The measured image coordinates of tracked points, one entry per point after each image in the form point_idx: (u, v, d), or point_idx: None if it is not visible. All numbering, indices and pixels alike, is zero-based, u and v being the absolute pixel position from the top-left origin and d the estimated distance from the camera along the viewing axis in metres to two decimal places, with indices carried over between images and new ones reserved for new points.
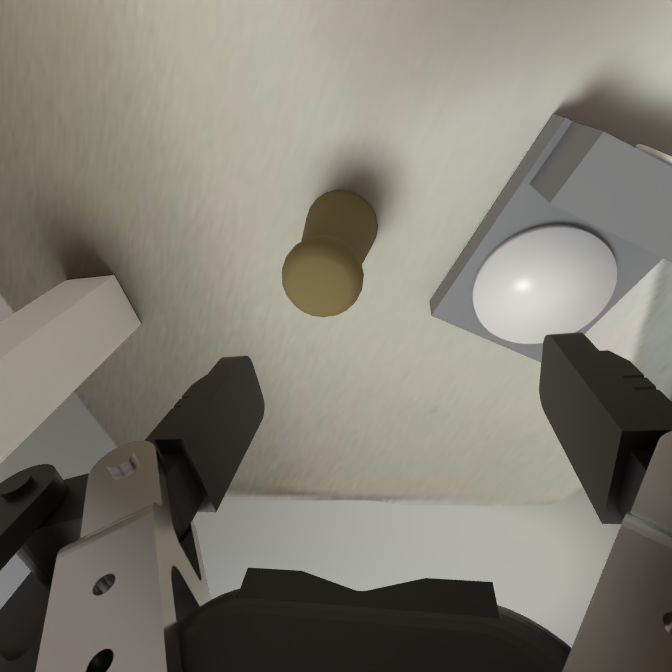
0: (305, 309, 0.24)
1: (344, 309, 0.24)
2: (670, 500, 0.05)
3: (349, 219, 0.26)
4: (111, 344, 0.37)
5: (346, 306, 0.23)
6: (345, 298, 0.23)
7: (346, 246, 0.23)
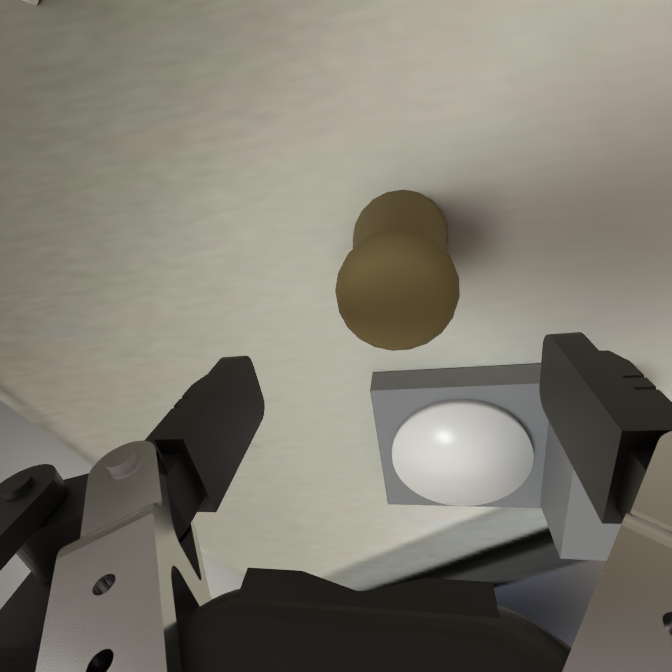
0: (351, 303, 0.15)
1: (380, 347, 0.16)
2: (670, 500, 0.05)
3: None
4: None
5: (387, 348, 0.16)
6: (402, 343, 0.16)
7: None
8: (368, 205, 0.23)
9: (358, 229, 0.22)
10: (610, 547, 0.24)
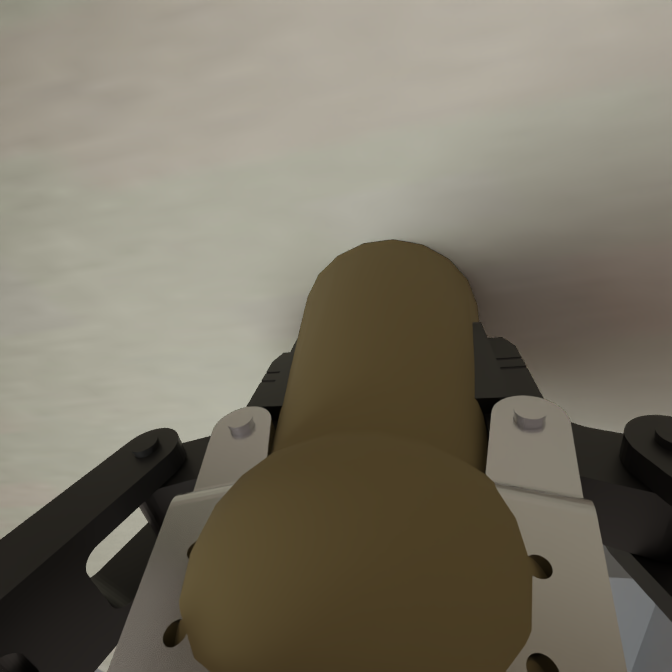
0: None
1: None
2: (509, 459, 0.06)
3: None
4: None
5: None
6: None
7: None
8: (328, 267, 0.12)
9: (303, 324, 0.11)
10: None
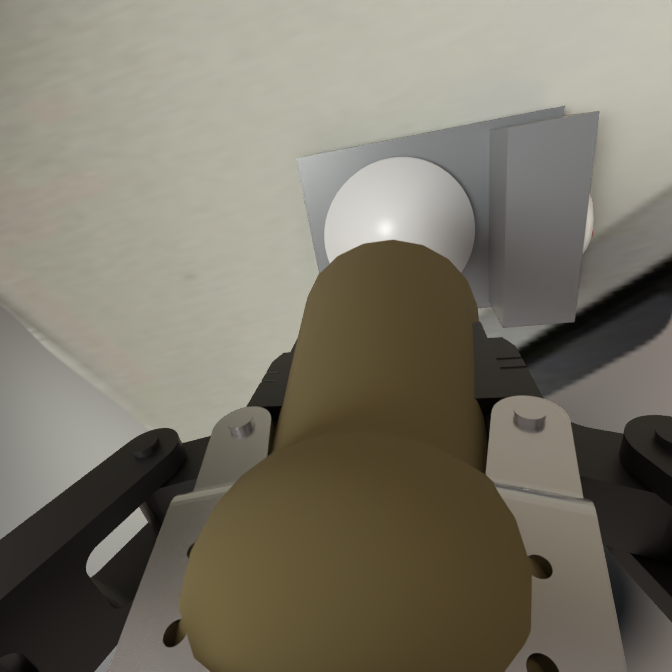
0: None
1: None
2: (509, 459, 0.06)
3: None
4: None
5: None
6: None
7: None
8: (328, 267, 0.12)
9: (303, 324, 0.11)
10: (555, 302, 0.22)
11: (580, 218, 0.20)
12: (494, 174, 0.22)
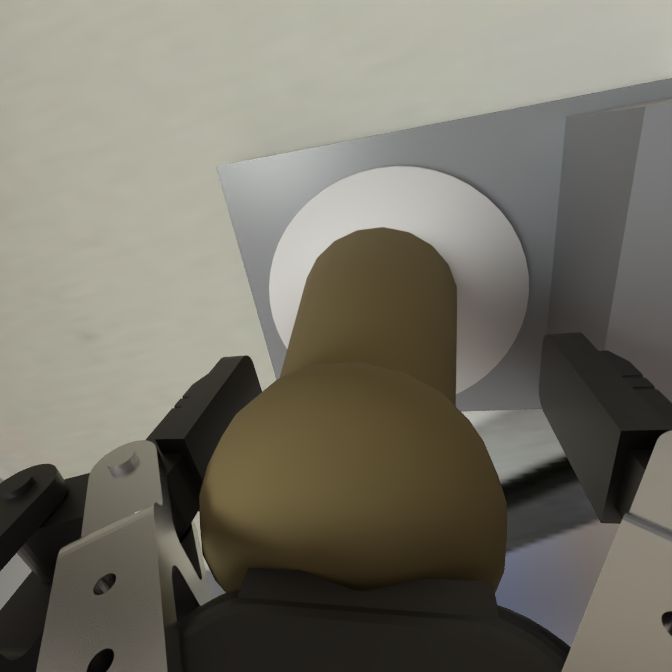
0: (223, 575, 0.06)
1: None
2: (669, 500, 0.05)
3: None
4: None
5: None
6: None
7: None
8: (326, 250, 0.14)
9: (303, 298, 0.12)
10: None
11: None
12: (576, 201, 0.12)
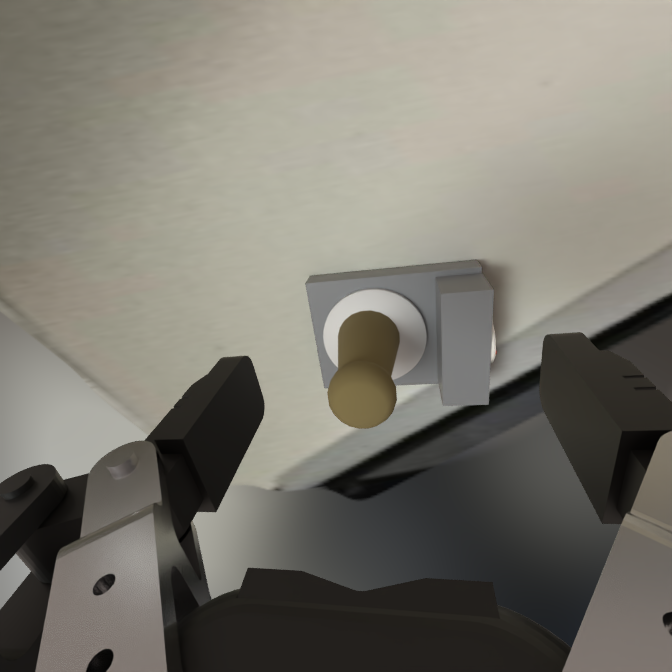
0: (336, 404, 0.27)
1: (352, 426, 0.28)
2: (670, 500, 0.05)
3: (394, 363, 0.32)
4: None
5: (356, 427, 0.28)
6: (364, 426, 0.28)
7: None
8: (348, 318, 0.35)
9: (341, 338, 0.34)
10: (475, 392, 0.33)
11: (487, 345, 0.31)
12: (437, 307, 0.33)
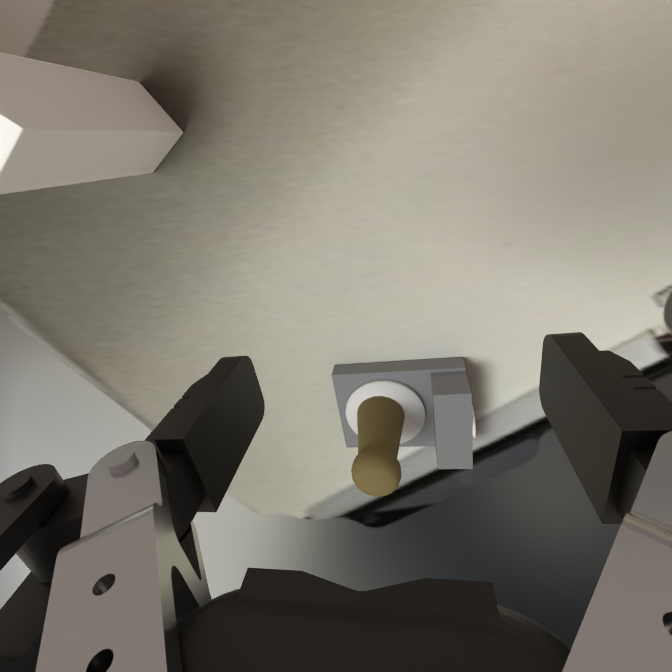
0: (358, 481, 0.38)
1: (369, 494, 0.40)
2: (670, 500, 0.05)
3: (399, 440, 0.43)
4: (129, 171, 0.37)
5: (372, 495, 0.39)
6: (378, 495, 0.39)
7: None
8: (365, 401, 0.47)
9: (360, 419, 0.45)
10: (462, 460, 0.44)
11: (469, 429, 0.42)
12: (432, 396, 0.44)
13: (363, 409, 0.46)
